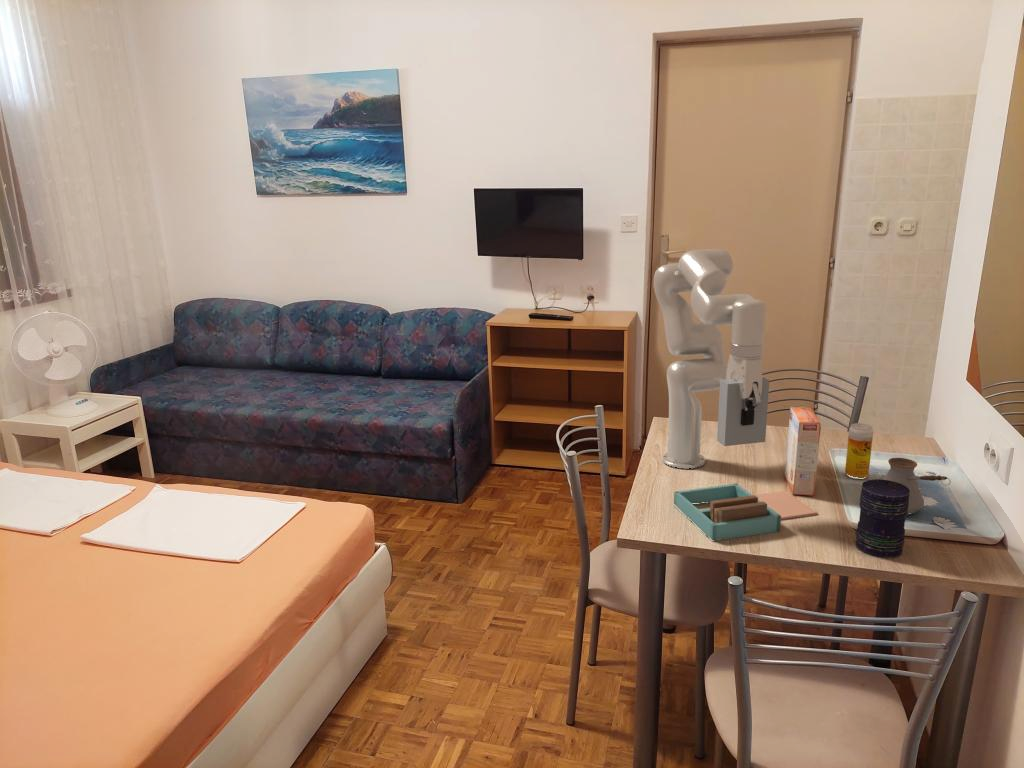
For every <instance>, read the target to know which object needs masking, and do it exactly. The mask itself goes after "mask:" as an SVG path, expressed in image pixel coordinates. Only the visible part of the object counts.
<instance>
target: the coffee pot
mask: <svg viewBox="0 0 1024 768" xmlns="http://www.w3.org/2000/svg"><path fill="white" fill-rule="evenodd" d="M888 464H889V466H890V468H889V470H888V471H887V473H886V474H885V476H884V478H883V479H882V480H889V481H894V482H897V483H900V484H902V485H904V486H906V487H908V488H909V490H910V495H909V507H908V513H907V514H909V513H913V514H914V513H917V512H918V511H920V510H921V509H922V507H924V505H925V500H924V498H923V494H922V492H921V489H920V486H919V484H918V481H917V480H921V481H931V482H932V481H940V483H941V484H942V485H943V486H946V487H947V486H949V485H950V484H951V479H950V478H948V477H947V476H945V475H942V476H941V475H934V474H933V475H932V474H931V475H920V476H918V475H916V476H915V472H914V470H915V468H917V466H918V463H917V462H916V461H914V460H912V459H910V458H905V457H891V458H889V459H888ZM945 480H948V481H949V483H948V484H944V483H943V481H945Z"/></svg>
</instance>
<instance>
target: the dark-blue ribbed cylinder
mask: <svg viewBox="0 0 1024 768" xmlns="http://www.w3.org/2000/svg"><path fill="white" fill-rule="evenodd" d="M909 495H910V490H909V488H908V487H906V486H904V485H902V484H900V483H897V482H894V481H889V480H883V479H868V480H865V481H863V482H862V484H861V491H860V496H859V502H858V503H859V509H860V510H859V520H858V521H857V528H856V541H855V547H856V548H857V550H858V551H860V552H862V554H863V553H864V554H865V555H867V556H871V557H873V558H879V559H895V558H898V557H900V556H901V555H902V554H903V548H904V544H905V538H906V537H905V533H906V529H905V524H906V517H907V516H908V515H907V513H908V507H909Z"/></svg>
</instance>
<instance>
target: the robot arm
mask: <svg viewBox="0 0 1024 768" xmlns="http://www.w3.org/2000/svg"><path fill="white" fill-rule="evenodd" d="M733 264H734V263H733V259H732V256H731V254H730V253H729V252H728V251H726V250H725V249H721V248H708V249H707V248H706V249H705V248H704V249H692V250H689V251H687V252H685V253H683V254H682V255H681V257H680V258H679V260H678V262H676V263H674V262H673V263H668V264H663V265H661V266H659V267H657V269H656V270H655V273H654V275H653V290H654V294H655V298H656V300H657V302H658V305H659V307H660V310H661V312H662V317H663V319H662V320H663V325H664V331H665V339H666V344H667V349H668V352H669V353H670V354H671V355H672V356H676V357H688V356H689V357H690V356H703V358H690V359H689V358H688V359H681V360H676V361H673V362H672V363H671V364H670V365H669V366H668V367H667V370H666V380H667V381H666V382H667V389H668V427H667V429H668V433H667V442H666V447H667V452H665V453H664V454H663V455H662V458H661V459H662V462H663V464H665V465H666V464H667V466H668V465H669V467H671V466H672V468H675V467H677V468H676V469H682V468H683V469H684V470H686V469H687V470H688V469H689V468H691V469H696V468H697V467H698V468H700V467H702V466H704V465H705V463H706V458H705V457H704V456H703V454H701V441H702V440H701V438H702V412H703V407H702V403H701V402H700V399H698V397H696V395H695V393H697V392H706V391H707V392H708V391H715V390H720V380H724V379H731V380H733V381H736V382H737V383H738V397H739V398H740V399H743V409H744V410H742V411H741V425H742V426H745V425H753V424H754V411H755V409H756V406H757V405H758V404H760V403H761V400H760V396H761V392H762V377H763V362H762V358H763V357H764V355H763V351H764V340H765V339H764V338H765V322H766V310H767V309H766V308H767V307H766V303H765V301H763V300H761V299H756V298H755V297H754V296H753V295H751V294H748V293H736V294H733V293H730V294H722V292H723V291H724V289H725V288H726V285H727V279H728V278H729V277H730V275H731V274H732V271H733V267H734V265H733ZM686 292H689V293H690V304H689V302H688V301H687V300H686V299H685V298H684V297H683V296H682V295H681V294H680V293H686ZM693 314H694V315H695V316H696V317H697V318H698V319H699V321H700V322H695V321H694V317H693ZM724 325H725V326H727V325H729V326H731V332H730V335H731V337H730V352H729V356H728V361H726V356H725V349H724V342H723V338H722V337H723V336H722V334H721V333H722V332H721V331H720V329H719V327H718V326H724ZM750 395H752V397H749V396H750ZM747 400H751V402H749V403H748V404H747ZM689 470H690V469H689Z"/></svg>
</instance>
